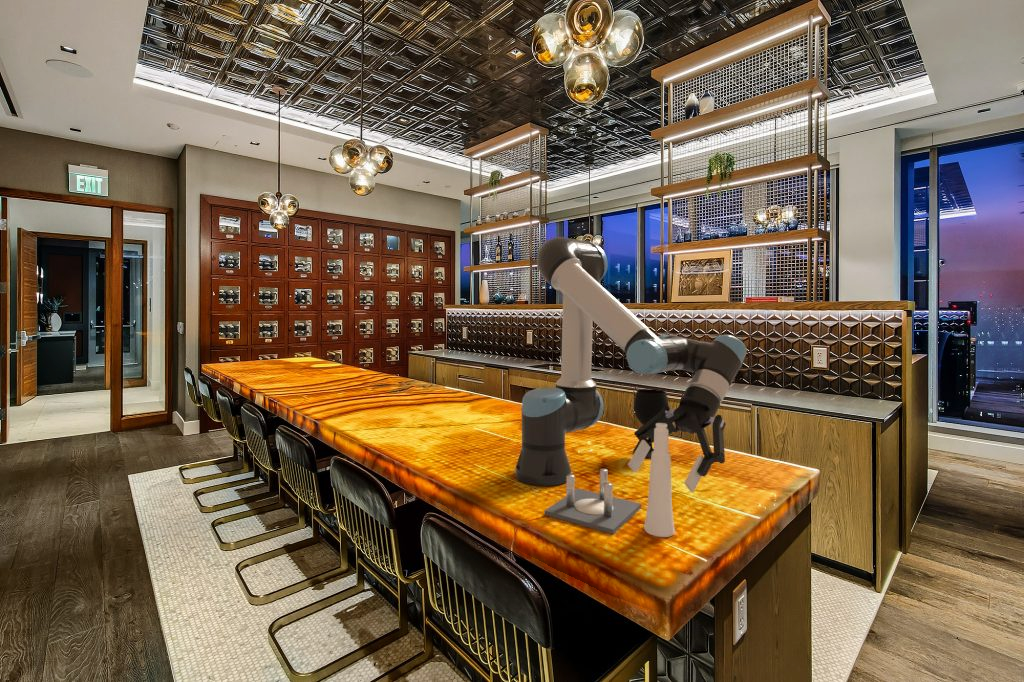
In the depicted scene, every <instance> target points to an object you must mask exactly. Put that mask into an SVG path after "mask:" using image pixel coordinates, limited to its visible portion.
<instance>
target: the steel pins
mask: <svg viewBox="0 0 1024 682" xmlns="http://www.w3.org/2000/svg"><path fill="white" fill-rule="evenodd" d="M608 474H609V471H608V469H607V468H600V469H599V499H600V500H604V517H607V518H611V517H612V499H613V497H614V496H613V492H614V491H613V490H614V489H613V488H614V487H613V485H614V483H613V482H610V481H608V480H609V479H608V478H609V476H608ZM575 479H576V478H575V474H573V473H571V474H567V482H566V487H565V488H566V491H565V495H566V496H565V497H566V506H567V507H569V508H573V507H574V495H575V490H576V488H575V484H576V483H575V481H576V480H575Z"/></svg>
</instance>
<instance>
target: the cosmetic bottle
mask: <svg viewBox="0 0 1024 682" xmlns="http://www.w3.org/2000/svg"><path fill="white" fill-rule="evenodd" d="M653 449H654V451H652V454H651V459H650V468H649V482H648V483H649V485H648V498H647V505H646V506H647V508H646V513H645V514H646V515H645V520H644V524H643V525H644V526H643V529H644V531H645V532H646V533H647V534H648V535H651V536H654V537H658V538H670V537H672V536H674V535H675V534H676V529H675V523H674V514H673V504H672V503H673V501H672V467H671V466H672V464H671V453H670V452H669V431H668V429H667V424H665V423H656V428H655V429H654V442H653Z"/></svg>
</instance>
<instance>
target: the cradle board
mask: <svg viewBox="0 0 1024 682" xmlns="http://www.w3.org/2000/svg"><path fill="white" fill-rule="evenodd" d="M599 494H600V492H599V493H598V492H594V491H590V490H586V489H581V488H575V495H574V507H573V508H569V507H567V506H566V496H564V497H563V498H561V499H560V500H558V501H557V502H555V503H553V504H552V505H551V506H549V507H547V508H546V509H545V510H544V516H548V517H549V518H550V517H551V518H554V519H556V520H557V519H558V520H561V521H563V522H564V521H565V522H568V523H571V524H575V525H578V526H582V527H586V528H590V529H592V530H597V531H600V532H603V533H605V534H606V533H607V534H610V535H614V534H616V533H617V532H618V530H620V529H621V528H622V527H623V526H624V525H625V524H626V523H627V522H628V521H629V520H630V519H631V518H632V517H633V516H634V515H635V514H636V513H637V512H638V511H639V510H640V509H641V508H642V503H640V502H638V501H637V502H636V501H633V500H628V499H624V498H619V497H615V496H613V499H612V517H611V518H607V517H604V500H600V499H599Z"/></svg>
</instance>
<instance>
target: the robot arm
mask: <svg viewBox="0 0 1024 682" xmlns="http://www.w3.org/2000/svg"><path fill="white" fill-rule="evenodd" d="M608 262H609V261H608V258H607V255H606V253H605V251H604V250H603V249H602V247H601V246H599V245H598V244H596V243H594V242H591V241H588V240H581V239H575V238H569V237H564V236H555V237H553V238H552V237H551V238H550V239H548V240H547V241H545V242H544V243H543V244H542V245H541V246H540V248H539V250H538V252H537V255H536V265H537V269H538V271H539V273H540V275H541V277H542V278H543V279H544V280H545V281H546V282H547V283H548V284H549V285H550V286H551V287H552V288H553V289H554V290H556V291H559V292H560V293H561V294H562V329H561V330H562V331H561V332H562V335H561V367H560V368H561V369H560V371H561V375H560V377H559V379H558V380H556V382H555V387H544V388H536V389H531V390H529V391H527V392H525V394H524V395H523V397H522V400H521V408H520V410H521V449H520V453H519V456H518V458H517V462H516V464H515V470H514V471H515V473H514V474H515V475H514V476H515V479H516V480H518V481H519V482H521V483H524V484H527V485H532V486H538V487H540V486H541V487H545V486H546V487H548V486H549V487H551V486H558V485H559V486H560V485H562V484H567V474H572V468H571V465H570V461H569V458H568V454H567V452H566V434H568V433H571V432H576V431H580V430H585V429H588V428H591V427H592V426H594V425H595V424H596V423H598V422H599V421H600V419H601V417H602V415H603V411H604V401H603V397H602V396H601V395H600V392H599V391H598V389H597V383H596V382H595V381H594V380H593V379H592V360H593V359H592V358H593V357H592V355H593V353H592V352H593V322H594V324H596V325H597V326H598V327H599V328H600V330H602V331H603V332H604V333H605V334H606V335H607V336H608V337H609V338H610V339H611V340H612V341H613V342H614V343H615V344H616V345H617V346H618V347H619V348H620V349H622V350H623V352H624V353H625V354H626V361H627V364H628V366H629V367H630V369H631V370H632V371H633V372H635V373H637V374H638V375H639V374H640V375H657V374H659V373H663V372H664V373H665V372H671V371H676V370H682V371H686V372H691V373H694V375H692V378H691V380H690V382H689V383H688V385H687V388H686V389H685V390H684V392H683V394H682V395H681V398H680V399H679V405H678V407H676V408H675V409H674V408H671V407H670V405H669V404H668V405H669V406H668V405H665V406H664V407H663V408H662V409H661V411H660V412H659V413H658V414H657V415H655V416H654V417H653V418H652V419H650V420H649V421H648V422H647V423H645V424H644V425H643V424H642V426H640V427H639V428H637V430H635V432H634V433H633V434H634V436H635V437H636V438H637V440H638V442H637V443H636V445H635V447H634V448H633V450H632V451H633V452H632V457H631V458H630V460H629V461H628V463H627V466H628V467H629V468H630V470H632V472H633V473H637V472H638V470H639V469H640V466H641V465H642V464H643V462H644V460H645V459H646V458H645V457H646V455H647V453H648V451H649V450H650V446H649V444H651V443H652V444H654V429H655V428H656V423H665V424H667V429H668V431H669V434H672V433H677V432H682V433H688V434H689V435H690V434H691V435H694V434H696V436H697V438H698V441H699V446H700V448H701V451H702V454H701V455H700V454H698V456H697V458H696V459H695V462H694V463H693V465H692V467H691V469H690V471H689V473H688V475H687V477H686V478H685V480H684V482H683V484H684V485H685V487H686V488H687V489H688V490H689V492H691V493H694V492H695V490H696V488H697V486H698V484H699V482H700V481H701V478H702V477H704V478H705V477H706V476H707V474H708V472H709V471H710V468H711V467H712V465H713V464H714V463H719V464H724V463H725V462H726V453H725V441H724V430H725V428H726V421H725V420H724V418H723V417H722V415H720V414H717V412H718V410H719V408H720V406H721V403H722V402H723V400H724V398H725V397H726V395H727V393H728V391H729V389H730V387H731V385H732V384H733V381H734V379H735V377H736V376H737V374H738V372H739V371H740V369H741V368H742V366H743V363H744V360H745V358H746V356H747V347H746V345H745V343H744V342H743V341H742V340H741V339H739V338H737V337H735V336H734V335H730V334H722V335H717V336H716V337H715V338H714V339H713V340H712V342H708V341H702V340H701V341H700V340H695V339H693V338H692V339H691V338H687V337H681V336H679V335H673V334H661V335H659V336H657V334H655V333H654V332H653V331H652V330H651V329H650V328H649V327H648V326H646V324H645V323H643V321H641V320H640V319H639V318H638V317H637V316H636V315H635V314H633V313H632V312H631V311H630V310H629V309H628V308H627V307H626V306H624V304H622V303H621V302H620V301H619V300H618V299H617V298H616V297H615V296H613V295H612V294H611V292H609V291H608V290H607V289H606V288H605V287H603V285H601V283H600V281H602V279H603V278H604V276H605V275H606V274H607V271H608V266H609V265H608V264H609V263H608ZM622 350H621V351H622ZM716 414H717V415H716ZM674 424H675V425H674ZM710 425H711V426H712V441H713V443H712V444H713V445H712V447H713V452H712V449H711V446H710V443H709V441H708V437H707V433H706V431H705V428H707V427H709V426H710ZM669 434H668V435H669Z"/></svg>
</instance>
